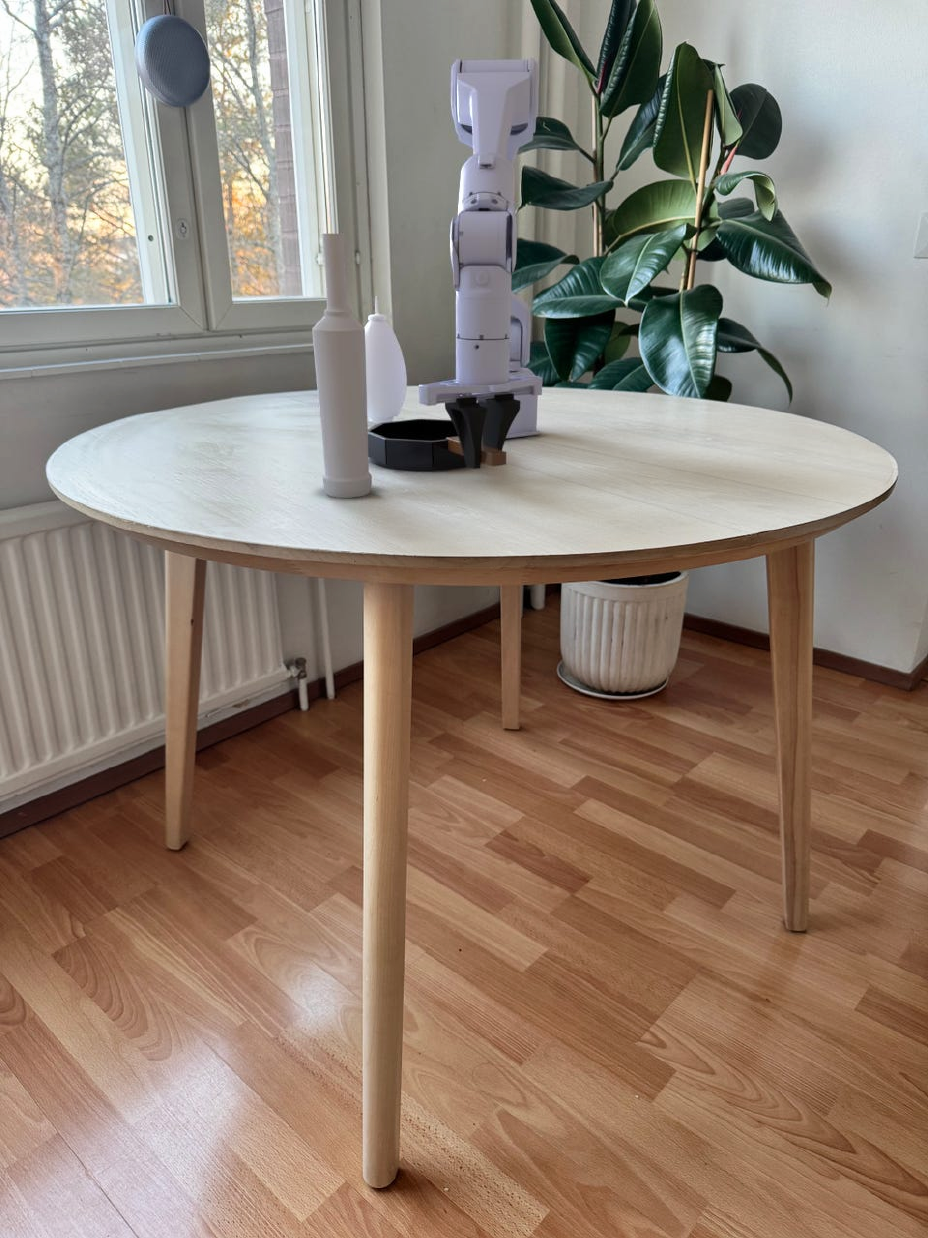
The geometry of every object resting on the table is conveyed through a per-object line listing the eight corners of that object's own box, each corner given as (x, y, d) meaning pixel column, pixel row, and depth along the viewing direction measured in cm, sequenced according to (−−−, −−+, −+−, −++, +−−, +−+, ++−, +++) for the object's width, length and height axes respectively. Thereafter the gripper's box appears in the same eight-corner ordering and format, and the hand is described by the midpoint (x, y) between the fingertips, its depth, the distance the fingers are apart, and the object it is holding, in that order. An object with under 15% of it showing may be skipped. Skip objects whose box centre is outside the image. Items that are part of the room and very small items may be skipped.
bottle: (325, 486, 91) (307, 234, 81) (372, 485, 91) (361, 234, 81) (321, 499, 86) (302, 232, 76) (372, 497, 86) (359, 233, 76)
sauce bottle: (352, 420, 127) (345, 293, 119) (402, 418, 128) (399, 293, 121) (358, 430, 120) (351, 296, 112) (412, 427, 121) (408, 295, 114)
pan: (446, 441, 112) (446, 414, 111) (550, 478, 94) (552, 445, 92) (351, 453, 106) (350, 424, 104) (443, 495, 87) (443, 460, 86)
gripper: (442, 344, 81) (443, 481, 86) (561, 337, 88) (555, 464, 93) (408, 338, 86) (411, 467, 92) (523, 332, 93) (519, 453, 99)
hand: (481, 465), depth 93 cm, fingers closed on pan, 2 cm apart
